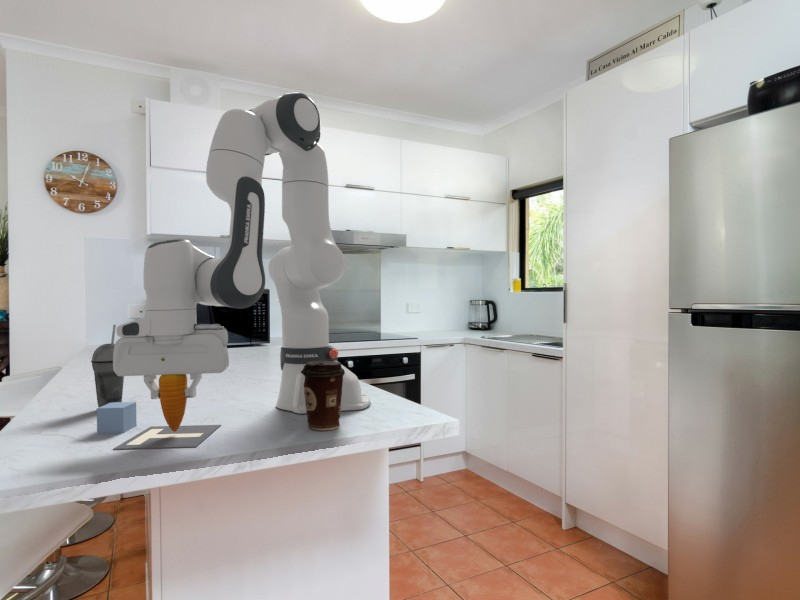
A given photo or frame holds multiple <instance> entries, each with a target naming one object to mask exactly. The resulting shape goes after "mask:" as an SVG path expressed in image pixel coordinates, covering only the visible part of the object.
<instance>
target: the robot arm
mask: <svg viewBox="0 0 800 600" xmlns="http://www.w3.org/2000/svg"><path fill="white" fill-rule="evenodd" d="M212 137H213V138H212V140H211V144H210V147H209V153H208V157H207V160H206V170H205V171H206V172H205V174H206V175H205V178H206V186H207V187H208V188H209V190H210V191H211V193H212V194H213V195H214V196H215V197H217V198H218V199H219V200H221V201H223V202H225V203H226V204H227V205H228V206H229V209H230V225H229V234H228V246H227V250H226V252H225V254H224V255H223V256H222V257H215V256H213V255H210V254H207V253H206V252H204V251H202V249H199V248H198V247H196V246H195V245H194V244H193V243H192V242H191V241H190V240H188V239H185V238H175V239H167V240H163V241H162V240H161V241H155V242H154V243H151V244H150V245H148V247H147V248H146V249H145V254H144V259H143V288H144V291H145V295H146V299H145V301H146V302H145V305H144V316H143V317H139V318H137V319H134V320H132V321H129V322H126V323H125V322H124V323H123V324H119V325H117V326H116V328H115V333H116V335H117V337H120V338H118V339H117V340H116V341H115V342H114V344H115V346H114V353H113V370H114V372H115V373H116V374H117V375H118V376H124V377H139V376H142V377H143V382H144V384H145V385H146V387H147V388H148V389H149V391H150V399H151V400H160V393H159V385H158V384H157V383H156V382H155V380H156V379H157V376H161V375H167V374H186V375H189V376H190V377H189V378H190V380H191V381H192V382H191V384H190V386H187V388H186V389H185V393H186V394H185V398H187V399H191V398H193V399H194V398H195V397H197V387H198V385H199V383H200V382H201V380H202V378H203V375H202V374H206V375H207V374H221V373H223V372H225V371H226V370H227V369H228V368H229V366H230V360H229V359H230V358H229V350H228V347H227V346H228V343H229V332H228V330H227V328H226V327H224V326H222V325H221V324H220V323H213V324H212V323H211V324H207V323H203V324H202V323H200V324H199V323H197V322H198V320H197V317H198V315H197V305H198V304H200V305H204V306H214V307H228V308H233V309H238V310H240V309H246V308H250V307H252V306H253V305H255V304H256V303H257V302H258V301H259V300H260V299H261V298H262V295H263V293H264V291H265V288H266V275H265V274H266V273H265V267H264V261H263V246H264V245H263V244H264V227H265V212H266V211H265V209H266V202H265V201H266V199H265V198H266V196H265V191H264V189H263V186H262V183H263V182H262V181H263V172H264V165H265V156H270V155H272V154H278V155H279V157H280V160H281V164H282V176H281V179H282V180H281V217H282V220H283V221H284V223H285V224H286V226H287V229H288V234H289V237H290V241H291V245H289V246H286V247H282V248H281V249H280V250H279V251H277V252H276V253H275V254H273V255H272V257H270V260H269V263H268V273H269V276H270V279H271V280H272V281H273V283H274V285H275V286H274V287H275V289H276V293H277V297H278V302H279V306H280V312H281V325H282V326H281V327H282V328H281V329H282V330H281V331H282V333H281V334H282V340H281V341H282V346H281V347H280V352H279V360H280V361H279V362H280V371H281V379H280V380H281V381H280V387H279V393H278V398H277V401H276V404H275V406H276V408H277V409H280V410H285V411H289V412H292V413H295V414H299V415H300V414H307V411H306V404H305V395H304V382H305V376H304V375H303V374H302V373H301V371H302V370H303V368H304V365H306V363H307V362H310V361H330V362H339V361H338V356H339V351H338V349H337V348H336V347H333V346H332V345H330V337H329V336H330V335H329V334H330V333H329V332H330V328H329V325H330V324H329V323H330V322H329V313H328V311H327V309H326V307H325V306H324V304H323V303H322V300H321V296H320V293H319V292H320V291H319V289H324V288H327V287H329V286H332V285H333V284H336V283H337V282H338V281H340V280H341V278H342V277H343V275H344V274H345V270H346V258H345V255H344V254H343V252H342V250H341V249H340V248H339V247H338V245H337V244H336V241H335V239H334V236H333V232H332V228H331V223H330V215H329V210H330V209H329V206H330V205H329V173H328V171H329V170H328V163H327V158H326V152H325V150H324V148H323V147H322V145H320V144H319V142H320V138H321V117H320V113H319V110H318V108H317V105H316V104H315V103H314V101H313V99H311V97H310V96H308V95H307V94H305V93H301V92H288V93H284V94H283V95H281V96H277V97H274V98H271V99H268V100H265V101H264V102H262V103H261V104H258V106H255V107H254V108H253V109H248V110H246V109H239V108H233V109H230V110H227V111H226V112H224V113H222V115H221V117H220V119H219V120H218V123H217V125H216V128H215V131H214V133H213V136H212ZM162 357H164V358H165V361H162V360H161V358H162ZM341 367H342V368H343V369H344V371H345V374H344V375H343V386H342V399H341V412H343V411H356V410H358V411H359V410H364V409H366V408H368V407H369V406H370V404H371V398H370V396H369V395H367V394H365V393H362V388H361V383H360V380H359V378H358V376H357V375H356V374H355V373H353V372H352V371H351V370H350V369H348V368H347V367H346V366H344V365H343V364H342V363H341Z"/></svg>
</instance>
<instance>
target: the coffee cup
mask: <svg viewBox="0 0 800 600" xmlns="http://www.w3.org/2000/svg"><path fill="white" fill-rule="evenodd" d="M341 364H342V363H341V362H339V361H338V362H330V361H310V362H307V363H306V365H304V368H303V370H302V371H301V373H302V374H303V375H304V376H305V382H304V395H305V404H306V411H307V413H306V416H307V427H308V428H310V429H312V430H313V431H314V430H315V431H320V432H321V431H333V430H337V429H338V428H340V424H341V423H340V419H341V412H342V411H341V399H342V386H343V375H344V374H345V371H344V369H343V368H342V367H341Z"/></svg>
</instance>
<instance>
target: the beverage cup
mask: <svg viewBox="0 0 800 600" xmlns="http://www.w3.org/2000/svg"><path fill="white" fill-rule="evenodd" d="M112 326H113V327H112V331H111V332H112V333H111V342H110V343H103V344H101V345H99V346H98V347H97V348H96V349H95V350H94V351H93V354H92V357H91V360H90V363H91V366H92V371H93V373H94V382H95V383H94V384H95V394H96V401H97V402H96V403H97V408H99V407H101V406H104V405H106V404H109V403H114V402H123V392H124V391H123V390H124V383H125V382H124V381H125V376H118V375H117V374H116V373H115V372H114V370H113V353H114V346H115V337H116V336H115V335H116V329H117V325H116V324H113V325H112Z"/></svg>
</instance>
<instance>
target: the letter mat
mask: <svg viewBox="0 0 800 600" xmlns="http://www.w3.org/2000/svg"><path fill="white" fill-rule="evenodd" d="M221 426H222V424H204V425H203V424H198V425H196V424H194V425H193V424H192V425H180V426H179V428H178V430H177V431H176V432H174V431H172V430H171V429H170V427H169V426H168V425H163V426H161V425H160V426H156V425H155V426H149V427H147V428H146V429H144V430H142V431H140V432H139V433H138V434H136V435H134V436H133V437H130V438H129V439H127V440H126V441H123V442H122V443H120V444H119V445H117V446H115V447H114V448H112V450H116V451H117V450H119V451H120V450H147V449H150V450H151V449H181V448H185V449H186V448H197V447H198V446H199V445H201V444H202V443H203V442H204V441H205V440H206V439H208V438H209V437H210V436H211V435H212V434H213V433H214V432H216V430H218V429H220V427H221Z"/></svg>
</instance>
